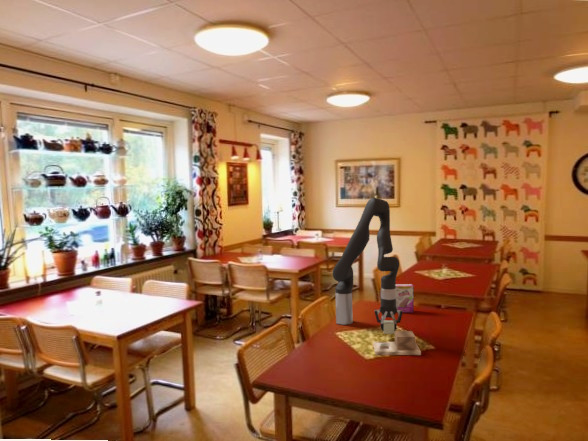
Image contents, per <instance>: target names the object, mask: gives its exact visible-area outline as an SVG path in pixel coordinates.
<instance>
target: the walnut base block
mask: <svg viewBox="0 0 588 441" xmlns="http://www.w3.org/2000/svg"><path fill="white" fill-rule="evenodd" d="M394 342H395V345H396V348H397V350H415V342H416V336H415V333H414V332H413V330H395V331H394Z"/></svg>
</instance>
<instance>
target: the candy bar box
mask: <svg viewBox="0 0 588 441" xmlns="http://www.w3.org/2000/svg"><path fill="white" fill-rule="evenodd" d="M414 290H415V289H414V285H413V284H412V283H409V284H408V283H406V284H405V283H403V284H401V283H400V284H399V283H397V284H396V308H397V310H402V312H403V313H405V314H406V313H414V302H415V301H414V299H415V298H414Z"/></svg>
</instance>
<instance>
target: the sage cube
mask: <svg viewBox="0 0 588 441" xmlns="http://www.w3.org/2000/svg"><path fill="white" fill-rule="evenodd" d="M383 324H384V331H382V333H383V335H385V334H387V335H395V331H394V321H393V320H386V319H385V320H384V322H383Z"/></svg>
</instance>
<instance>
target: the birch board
mask: <svg viewBox="0 0 588 441" xmlns="http://www.w3.org/2000/svg"><path fill="white" fill-rule="evenodd" d="M372 346H373V350H374V355H375V356H378V355H379V356H388V355H389V356H390V355H391V356H405V355H406V356H421V355H422V351H421V350H420V347H419V346H418V344H417V342H416V341H415V350H397V348H396V345H395V341H372Z"/></svg>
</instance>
